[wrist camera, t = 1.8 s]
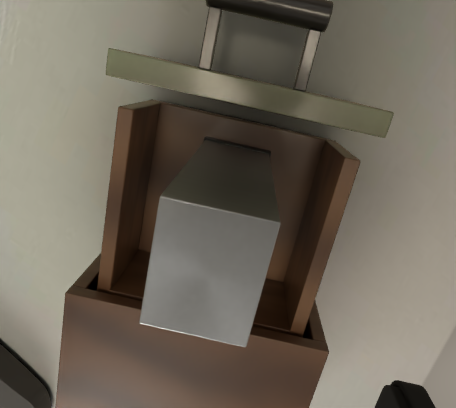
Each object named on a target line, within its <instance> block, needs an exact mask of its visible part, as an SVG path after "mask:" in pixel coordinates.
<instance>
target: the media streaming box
mask: <svg viewBox="0 0 456 408" xmlns="http://www.w3.org/2000/svg"><path fill="white" fill-rule="evenodd" d="M0 408H51V400H50V396H49V394H48V392H47V390H46V388H45V387H44V385H43V384H42V383H41V382H40V381H39V380H38V379H37V378H36V377H35V376H34V375H33V374H32V373H31V372H30V371H29V370H28V369H27V368H26V367H25V366H24V365H22V364H21V363H20V362H19V361H18V360H17V359H16V358H15V357H14V356H13V355H12V354H11V353H10V352H8V351H7V350H6V349H5V348H4V347H3V346H2V345H1V344H0Z"/></svg>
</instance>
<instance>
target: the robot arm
mask: <svg viewBox="0 0 456 408" xmlns="http://www.w3.org/2000/svg"><path fill="white" fill-rule="evenodd" d="M375 408H435V406H434V404H433V402H432V401H431V399H430V397H429V395H428V393H427V391H426V390H425V389H424V387H422V386H420V385H416V384H412V383H407V382H403V381H398V380H395V381H394V382H392V384H391V385H386V386H384V388H383V389H382V392H381V394H380V396H379V399H378V401H377V403H376V406H375Z"/></svg>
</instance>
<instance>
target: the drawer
mask: <svg viewBox="0 0 456 408" xmlns="http://www.w3.org/2000/svg"><path fill="white" fill-rule="evenodd" d="M206 5H207V6H208V7H209V12H208V17H207V23H206V28H205V34H204V40H203V45H202V51H201V57H200V62H199V67H196V66H191V65H187V64H182V63H178V62H173V61H169V60H165V59H160V58H156V57H151V56H147V55H142V54H137V53H132V52H126V51H121V50H116V49H111V48H109V49H108V56H107V65H106V75H108V76H112V77H117V78H121V79H126V80H130V81H135V82H139V83H143V84H148V85H152V86H157V87H161V88H166V89H170V90H174V91H179V92H183V93H188V94H192V95H197V96H201V97H205V98H210V99H214V100H219V101H223V102H228V103H232V104H236V105H241V106H245V107H250V108H254V109H259V110H263V111H267V112H272V113H276V114H281V115H285V116H290V117H294V118H298V119H303V120H307V121H312V122H316V123H320V124H325V125H329V126H334V127H338V128H343V129H347V130H351V131H356V132H360V133H365V134H369V135H374V136H378V137H382V138H385V137H386V135H387V132H388V129H389V126H390V123H391V120H392V118H393V115H394V113H393V112H390V111H386V110H383V109H379V108H375V107H371V106H367V105H363V104H359V103H355V102H350V101H346V100H342V99H337V98H333V97H328V96H324V95H319V94H315V93H311V92H306V87H307V83H308V80H309V76H310V72H311V68H312V65H313V61H314V57H315V54H316V50H317V46H318V42H319V39H320V35H321V32H322V33H323V32H325V31H326V29H327V27H328V24H329V21H330V18H331V14H332V10H333V2H332V1H328V0H206ZM222 10H225V11H229V12H234V13H238V14H243V15H247V16H251V17H256V18H260V19H265V20H269V21H274V22H278V23H282V24H287V25H291V26H296V27H300V28H305V29H309V30H308V33H307V36H306V40H305V44H304V48H303V52H302V56H301V60H300V64H299V67H298V71H297V75H296V79H295V83H294V87H293V88H289V87H284V86H280V85H275V84H271V83H266V82H262V81H258V80H253V79H249V78H244V77H240V76H235V75H231V74H227V73H222V72H218V71H213V70H211V68H212V63H213V57H214V52H215V47H216V41H217V36H218V31H219V26H220V20H221V15H222ZM206 136H208V137H212V138H217V139H221V140H225V141H230V142H234V143H239V144H243V145H248V146H252V147H256V148H261V149H265V150H270V151H271V156H270V163H271V169H272V175H273V181H274V187H275V193H276V200H277V206H278V212H279V218H280V228H279V231H278V235H277V239H276V242H275V246H274V249H273V253H272V257H271V260H270V264H269V267H268V271H267V274H266V278H265V282H264V285H263V289H262V292H261V296H260V300H259V303H258V307H257V310H256V314H255V318H254V321H253V325H252V326H253V327H258V328H262V329H267V330H271V331H276V332H280V333H284V334H289V335H293V336H298V337H302V336H303V333H304V330H305V327H306V324H307V321H308V318H309V315H310V312H311V309H312V306H313V303H314V300H315V297H316V294H317V291H318V288H319V285H320V282H321V279H322V276H323V273H324V270H325V267H326V264H327V261H328V258H329V255H330V252H331V249H332V246H333V243H334V240H335V237H336V234H337V231H338V228H339V225H340V222H341V219H342V216H343V213H344V210H345V207H346V204H347V201H348V198H349V195H350V192H351V189H352V186H353V183H354V180H355V177H356V174H357V171H358V168H359V165H360V160H359V159H357V158H356V157H355V156H354V155H352V154H351V153H350V152H349V151H347V150H346V149H345V148H344V147H342V146H341V145H340V144H339V143H337V142H336V141H335V140H330V139H326V138H321V137H317V136H312V135H308V134H304V133H299V132H295V131H290V130H286V129H281V128H277V127H273V126H268V125H264V124H259V123H255V122H250V121H246V120H242V119H237V118H233V117H228V116H224V115H219V114H215V113H211V112H206V111H202V110H197V109H193V108H189V107H184V106H180V105H175V104H171V103H166V102H162V101H158V100H153V99H152V100H148V101H143V102H138V103H134V104H129V105H124V106H120V107H119V108H118V115H117V123H116V132H115V140H114V149H113V157H112V166H111V174H110V183H109V191H108V200H107V208H106V217H105V225H104V234H103V242H102V251H101V259H100V268H99V276H98V285H97V291H98V292H103V293H107V294H111V295H116V296H120V297H125V298H129V299H134V300H138V301H142V302H143V297H144V290H145V284H146V278H147V272H148V266H149V260H150V254H151V248H152V242H153V236H154V229H155V223H156V217H157V211H158V205H159V199H160V196H161V195H162V193H163V192H164V191H165V190H166V188H167V187H168V186H169V185H170V183H171V182H172V181H173V180H174V178H175V177H176V176H177V175H178V174H179V172H180V171H181V170H182V169H183V167H184V166H185V165H186V164H187V162H188V161H189V160H190V159H191V157H192V156H193V155H194V154H195V152H196V151H197V150H198V149H199V148H200V146H201V145H202V144H203V141H204V138H205V137H206Z"/></svg>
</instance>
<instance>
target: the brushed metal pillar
mask: <svg viewBox="0 0 456 408" xmlns="http://www.w3.org/2000/svg"><path fill="white" fill-rule="evenodd" d="M270 156H271V151H270V150H265V149H261V148H256V147H252V146H248V145H243V144H239V143H234V142H230V141H225V140H221V139H217V138H212V137H208V136H206V137H205V138H204V141H203V144H202V145H201V146H200V148H199V149H198V150H197V151H196V152H195V154H194V155H193V156H192V157H191V159H190V160H189V161H188V162H187V164H186V165H185V166H184V167H183V169H182V170H181V171H180V172H179V174H178V175H177V176H176V177H175V178H174V180H173V181H172V182H171V183H170V185H169V186H168V187H167V188H166V190H165V191H164V192H163V193H162V195H161V196H160V199H159V205H158V211H157V217H156V223H155V229H154V236H153V242H152V248H151V254H150V260H149V266H148V272H147V278H146V284H145V290H144V297H143V303H142V309H141V315H140V321H139V322H140V324H144V325H149V326H153V327H157V328H162V329H166V330H171V331H175V332H180V333H184V334H189V335H193V336H197V337H202V338H206V339H211V340H215V341H220V342H224V343H228V344H233V345H237V346H242V347H246V346H247V343H248V339H249V336H250V332H251V328H252V325H253V321H254V318H255V314H256V310H257V307H258V303H259V300H260V296H261V292H262V289H263V285H264V282H265V278H266V274H267V271H268V267H269V264H270V260H271V257H272V253H273V249H274V246H275V242H276V239H277V235H278V231H279V228H280V218H279V212H278V206H277V200H276V193H275V187H274V181H273V175H272V169H271V163H270Z"/></svg>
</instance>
